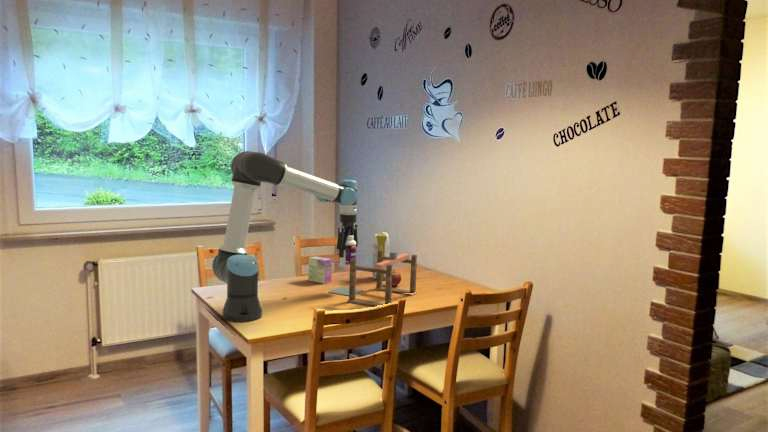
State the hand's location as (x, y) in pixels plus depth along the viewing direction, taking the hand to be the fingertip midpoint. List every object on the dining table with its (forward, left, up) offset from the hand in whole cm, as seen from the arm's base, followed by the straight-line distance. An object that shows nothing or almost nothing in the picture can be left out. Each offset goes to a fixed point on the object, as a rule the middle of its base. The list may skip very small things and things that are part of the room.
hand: (347, 262), depth 268 cm
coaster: (0, 0, -14) cm, 14 cm away
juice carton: (+33, -1, -14) cm, 36 cm away
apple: (+23, -13, -14) cm, 30 cm away
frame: (0, -19, -14) cm, 24 cm away
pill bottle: (0, 0, -2) cm, 2 cm away
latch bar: (0, -23, +2) cm, 24 cm away
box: (+10, +21, -14) cm, 27 cm away
